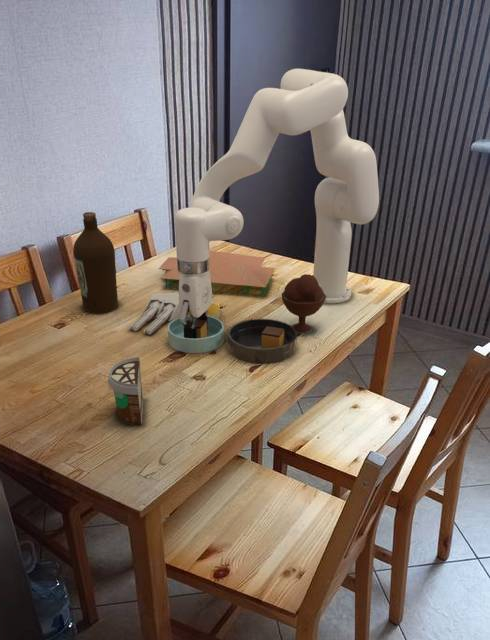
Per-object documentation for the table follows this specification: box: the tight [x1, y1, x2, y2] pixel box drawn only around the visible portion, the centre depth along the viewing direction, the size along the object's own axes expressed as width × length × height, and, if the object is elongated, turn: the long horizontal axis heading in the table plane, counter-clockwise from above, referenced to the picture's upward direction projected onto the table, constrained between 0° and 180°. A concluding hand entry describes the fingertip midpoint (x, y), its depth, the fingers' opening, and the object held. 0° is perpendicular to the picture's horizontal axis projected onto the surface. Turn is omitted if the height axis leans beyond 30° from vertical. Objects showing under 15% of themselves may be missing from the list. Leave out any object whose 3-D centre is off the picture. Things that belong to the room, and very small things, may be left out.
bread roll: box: [188, 303, 222, 319], centre depth 177 cm, size 8×9×4 cm
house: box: [158, 250, 275, 298], centre depth 197 cm, size 23×33×8 cm
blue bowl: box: [166, 315, 225, 354], centre depth 164 cm, size 14×14×4 cm
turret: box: [128, 292, 181, 336], centre depth 175 cm, size 10×20×5 cm, turn 153°
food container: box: [107, 356, 144, 426], centre depth 136 cm, size 12×6×10 cm, turn 5°
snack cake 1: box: [189, 318, 207, 338], centre depth 164 cm, size 4×4×5 cm
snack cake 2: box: [261, 326, 284, 349], centre depth 160 cm, size 4×4×5 cm
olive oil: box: [72, 211, 119, 314], centre depth 176 cm, size 11×11×25 cm
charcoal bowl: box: [227, 318, 298, 365], centre depth 161 cm, size 17×17×4 cm
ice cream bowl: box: [280, 273, 326, 334], centre depth 167 cm, size 11×11×15 cm
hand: (196, 335), depth 165 cm, fingers open, 6 cm apart
